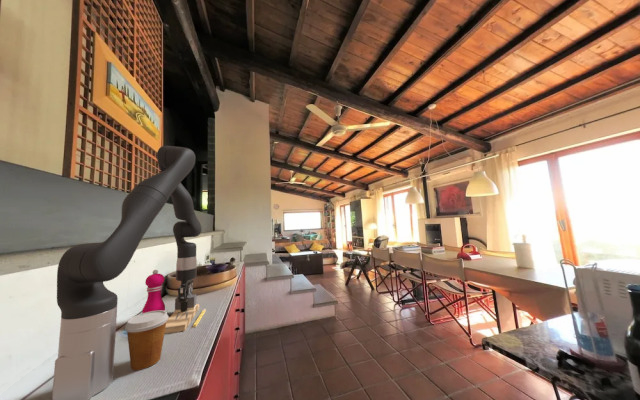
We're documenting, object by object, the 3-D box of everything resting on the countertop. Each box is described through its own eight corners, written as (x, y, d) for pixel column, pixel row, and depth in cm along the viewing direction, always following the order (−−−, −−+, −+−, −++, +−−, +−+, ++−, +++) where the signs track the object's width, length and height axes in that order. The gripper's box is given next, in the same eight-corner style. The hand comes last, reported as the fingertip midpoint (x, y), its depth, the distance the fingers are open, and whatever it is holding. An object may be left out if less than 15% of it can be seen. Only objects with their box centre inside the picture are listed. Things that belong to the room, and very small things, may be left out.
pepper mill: (169, 318, 88) (170, 267, 91) (154, 326, 81) (156, 271, 83) (152, 318, 89) (154, 268, 91) (136, 326, 82) (138, 272, 84)
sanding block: (194, 309, 92) (194, 297, 92) (174, 312, 89) (175, 299, 90) (196, 306, 95) (196, 294, 96) (177, 308, 93) (178, 296, 94)
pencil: (196, 327, 80) (196, 324, 80) (193, 327, 80) (193, 324, 80) (205, 311, 95) (205, 308, 95) (203, 311, 95) (203, 309, 95)
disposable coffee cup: (144, 376, 54) (146, 325, 55) (112, 373, 56) (115, 323, 57) (175, 353, 63) (176, 310, 65) (147, 351, 65) (149, 309, 66)
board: (185, 330, 77) (185, 324, 77) (158, 335, 75) (158, 328, 75) (199, 308, 98) (199, 303, 98) (178, 311, 96) (178, 306, 96)
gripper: (192, 270, 88) (191, 314, 86) (200, 263, 102) (199, 302, 100) (170, 272, 86) (169, 317, 84) (181, 265, 99) (180, 304, 98)
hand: (185, 308), depth 92 cm, fingers open, 4 cm apart
